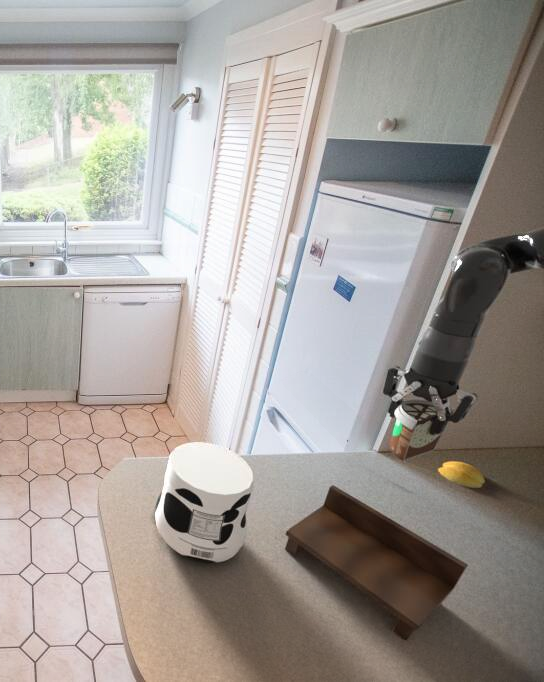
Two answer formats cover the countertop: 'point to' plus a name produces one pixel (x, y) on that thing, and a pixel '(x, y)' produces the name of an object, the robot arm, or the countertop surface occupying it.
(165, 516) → the milk container
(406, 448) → the food container
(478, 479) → the yellow ridged fruit
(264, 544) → the countertop surface
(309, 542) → the shelf
